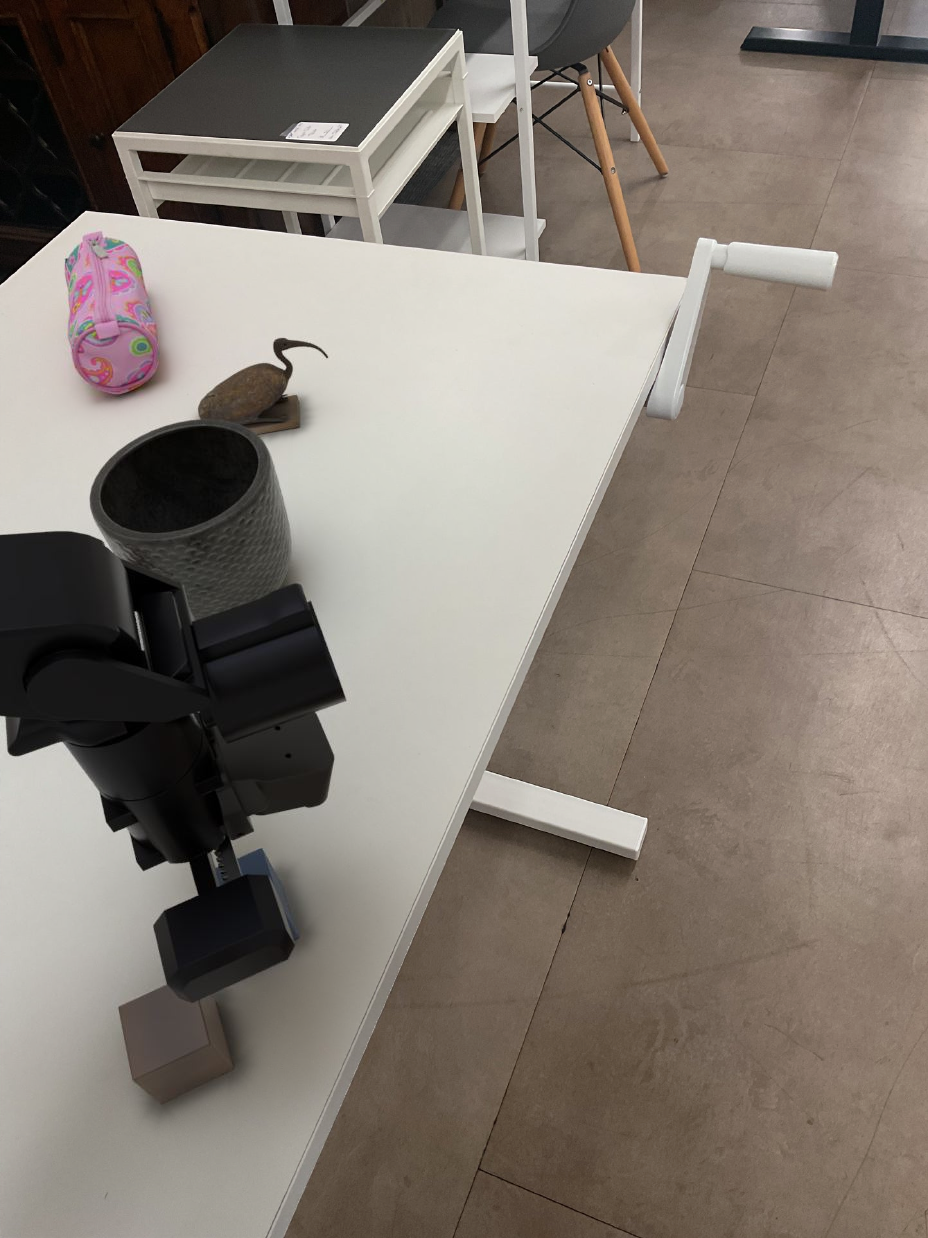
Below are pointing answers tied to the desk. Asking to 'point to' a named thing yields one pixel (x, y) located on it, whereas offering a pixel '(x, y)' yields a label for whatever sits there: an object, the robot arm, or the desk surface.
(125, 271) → the pencil case
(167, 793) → the robot arm
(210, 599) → the planter
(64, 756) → the desk surface
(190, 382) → the desk surface
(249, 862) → the blue block
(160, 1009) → the near walnut block
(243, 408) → the figurine
